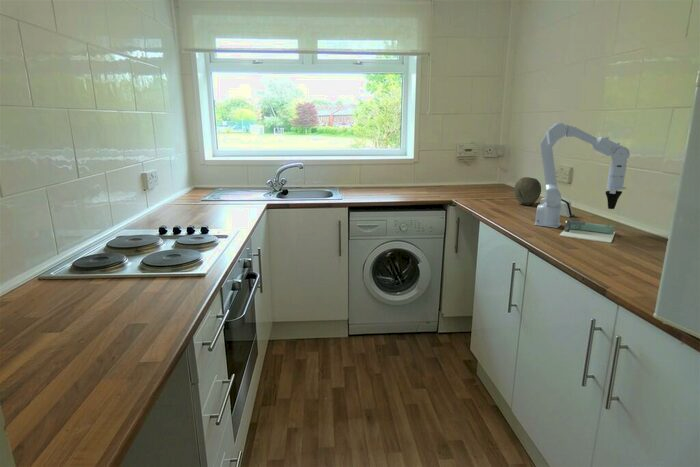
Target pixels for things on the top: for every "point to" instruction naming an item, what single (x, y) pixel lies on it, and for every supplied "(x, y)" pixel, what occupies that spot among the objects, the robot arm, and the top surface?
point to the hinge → (563, 207)
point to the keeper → (567, 223)
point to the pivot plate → (588, 234)
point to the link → (594, 227)
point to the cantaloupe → (527, 190)
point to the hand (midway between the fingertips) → (611, 208)
